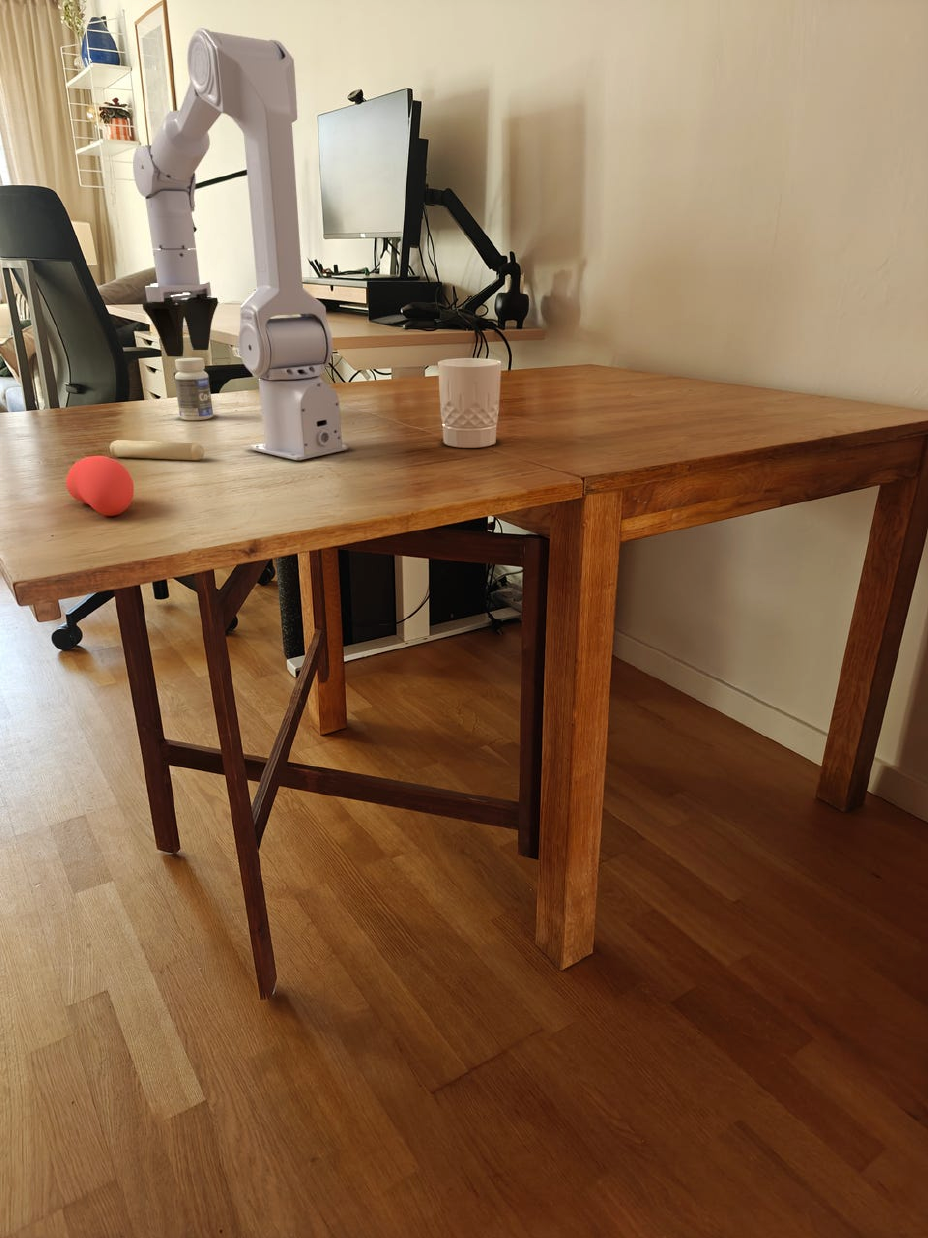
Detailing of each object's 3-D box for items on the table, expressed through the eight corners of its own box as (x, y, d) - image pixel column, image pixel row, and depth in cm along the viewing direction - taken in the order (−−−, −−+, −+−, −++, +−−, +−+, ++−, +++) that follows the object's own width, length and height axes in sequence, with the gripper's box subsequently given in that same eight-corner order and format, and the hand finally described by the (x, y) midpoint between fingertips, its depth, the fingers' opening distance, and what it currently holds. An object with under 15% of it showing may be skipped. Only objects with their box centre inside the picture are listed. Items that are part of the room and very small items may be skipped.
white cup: (506, 438, 109) (507, 358, 105) (492, 451, 102) (493, 366, 98) (449, 434, 111) (448, 357, 107) (431, 447, 104) (429, 364, 100)
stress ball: (139, 506, 86) (103, 452, 84) (152, 494, 78) (112, 434, 76) (93, 532, 84) (55, 477, 82) (102, 522, 76) (59, 461, 74)
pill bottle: (208, 420, 121) (200, 360, 117) (175, 420, 121) (167, 360, 118) (217, 414, 125) (210, 356, 122) (186, 414, 125) (178, 356, 122)
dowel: (208, 458, 100) (206, 441, 99) (200, 462, 98) (198, 445, 97) (117, 454, 102) (114, 438, 101) (108, 458, 100) (104, 441, 99)
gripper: (174, 248, 121) (187, 346, 127) (118, 249, 108) (135, 358, 114) (219, 248, 120) (230, 347, 125) (168, 249, 107) (183, 359, 112)
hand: (188, 352), depth 119 cm, fingers open, 7 cm apart
